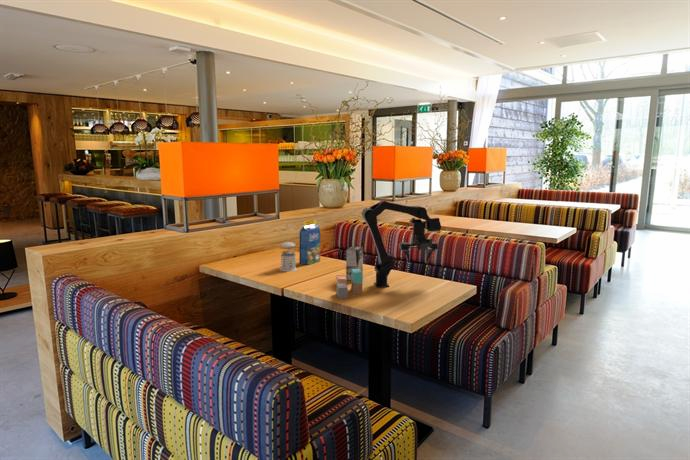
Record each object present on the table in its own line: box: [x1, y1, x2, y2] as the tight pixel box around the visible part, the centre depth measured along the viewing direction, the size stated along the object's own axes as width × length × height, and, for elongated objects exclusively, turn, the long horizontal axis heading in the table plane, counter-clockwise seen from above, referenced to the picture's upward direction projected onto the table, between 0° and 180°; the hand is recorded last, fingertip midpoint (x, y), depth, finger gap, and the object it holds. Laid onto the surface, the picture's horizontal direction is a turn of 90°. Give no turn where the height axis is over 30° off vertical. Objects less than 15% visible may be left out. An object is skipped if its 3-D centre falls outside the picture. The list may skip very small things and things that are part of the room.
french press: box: [279, 224, 298, 272], centre depth 248 cm, size 10×12×25 cm
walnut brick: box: [350, 279, 363, 295], centre depth 212 cm, size 7×4×5 cm, turn 9°
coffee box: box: [345, 245, 364, 281], centre depth 233 cm, size 9×6×16 cm
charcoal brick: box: [335, 283, 349, 300], centre depth 205 cm, size 7×4×5 cm, turn 9°
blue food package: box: [299, 219, 321, 266], centre depth 264 cm, size 6×12×25 cm, turn 146°
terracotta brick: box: [335, 274, 348, 287], centre depth 219 cm, size 7×4×5 cm, turn 9°
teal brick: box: [352, 269, 364, 284], centre depth 211 cm, size 7×4×5 cm, turn 9°
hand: (417, 262), depth 224 cm, fingers open, 9 cm apart
